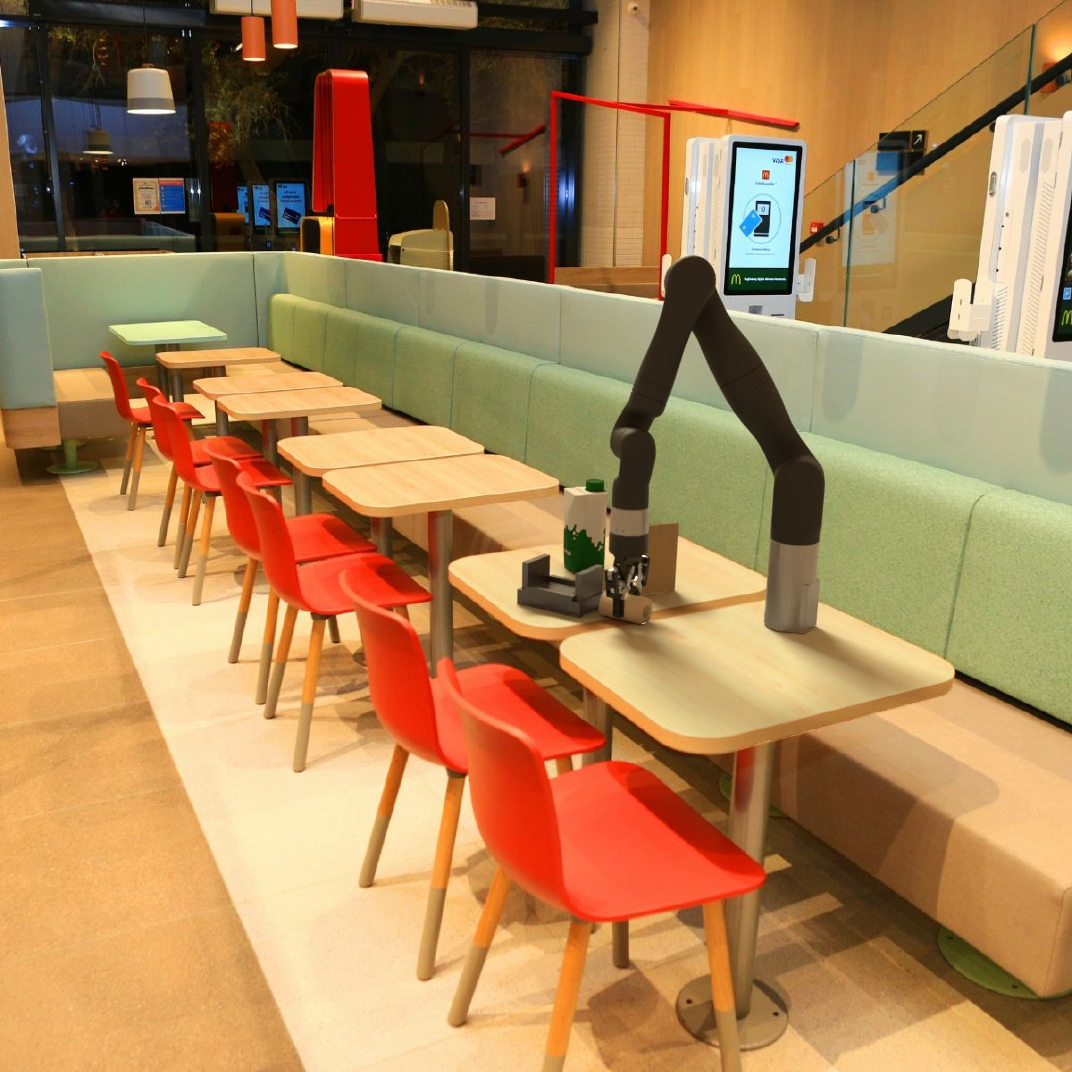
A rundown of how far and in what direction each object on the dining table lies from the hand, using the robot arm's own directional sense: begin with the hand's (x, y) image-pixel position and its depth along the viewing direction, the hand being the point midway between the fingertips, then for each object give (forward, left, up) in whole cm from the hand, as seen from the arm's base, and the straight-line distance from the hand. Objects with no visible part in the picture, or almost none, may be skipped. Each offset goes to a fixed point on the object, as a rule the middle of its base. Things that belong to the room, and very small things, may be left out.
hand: (625, 612), depth 223 cm
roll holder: (+15, 0, -1) cm, 15 cm away
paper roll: (0, 0, -1) cm, 1 cm away
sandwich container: (+9, -23, -2) cm, 25 cm away
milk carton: (+25, -24, -2) cm, 35 cm away
